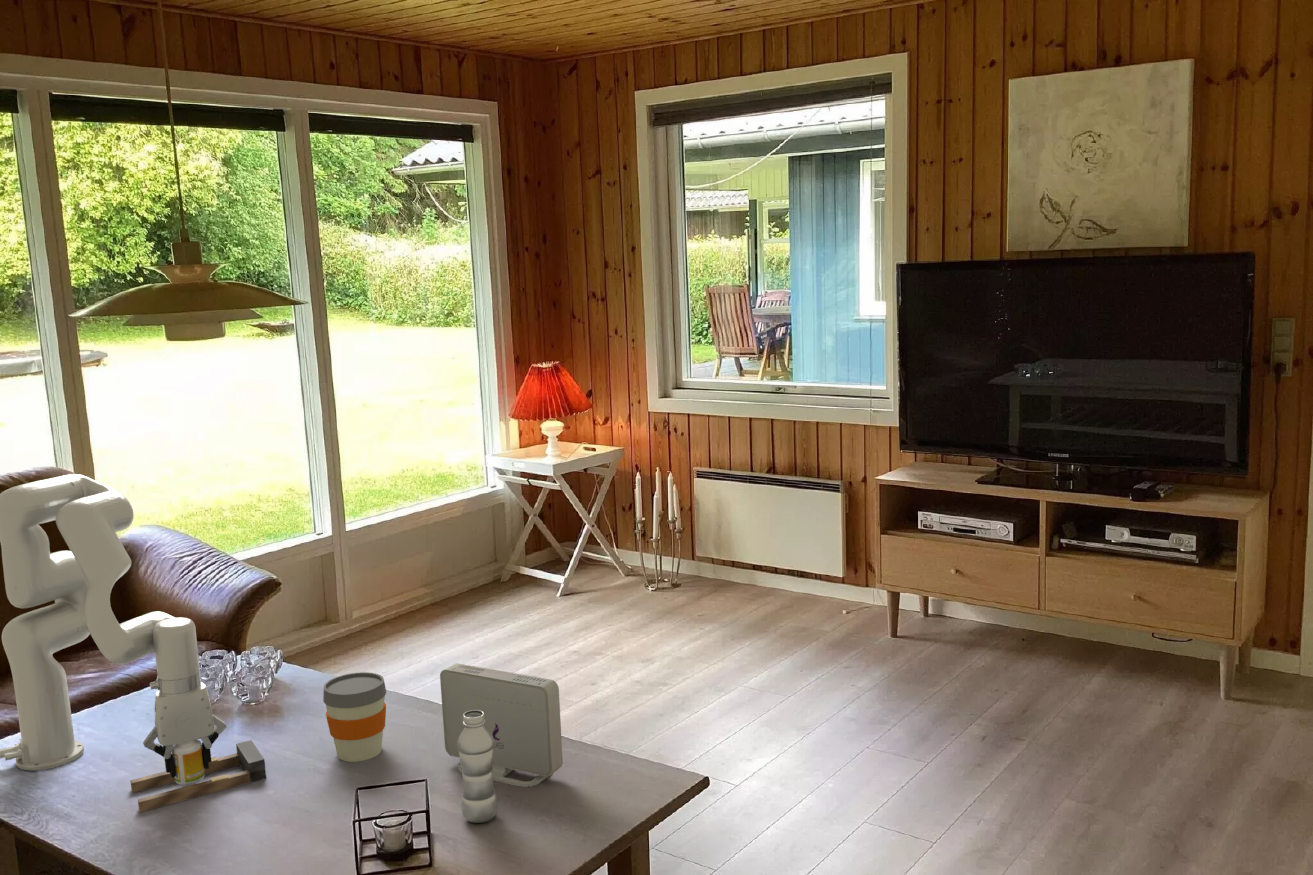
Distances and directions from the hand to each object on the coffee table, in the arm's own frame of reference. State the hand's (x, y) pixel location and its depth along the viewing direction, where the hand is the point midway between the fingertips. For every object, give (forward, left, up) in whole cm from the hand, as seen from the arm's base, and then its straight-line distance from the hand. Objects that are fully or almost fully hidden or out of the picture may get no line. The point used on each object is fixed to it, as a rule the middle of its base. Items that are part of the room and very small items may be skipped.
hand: (189, 769), depth 219 cm
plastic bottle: (+41, -46, -4) cm, 62 cm away
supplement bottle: (0, 0, -2) cm, 2 cm away
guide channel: (+2, 0, -3) cm, 4 cm away
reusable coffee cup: (+32, -5, -4) cm, 33 cm away
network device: (+53, -31, -4) cm, 61 cm away
